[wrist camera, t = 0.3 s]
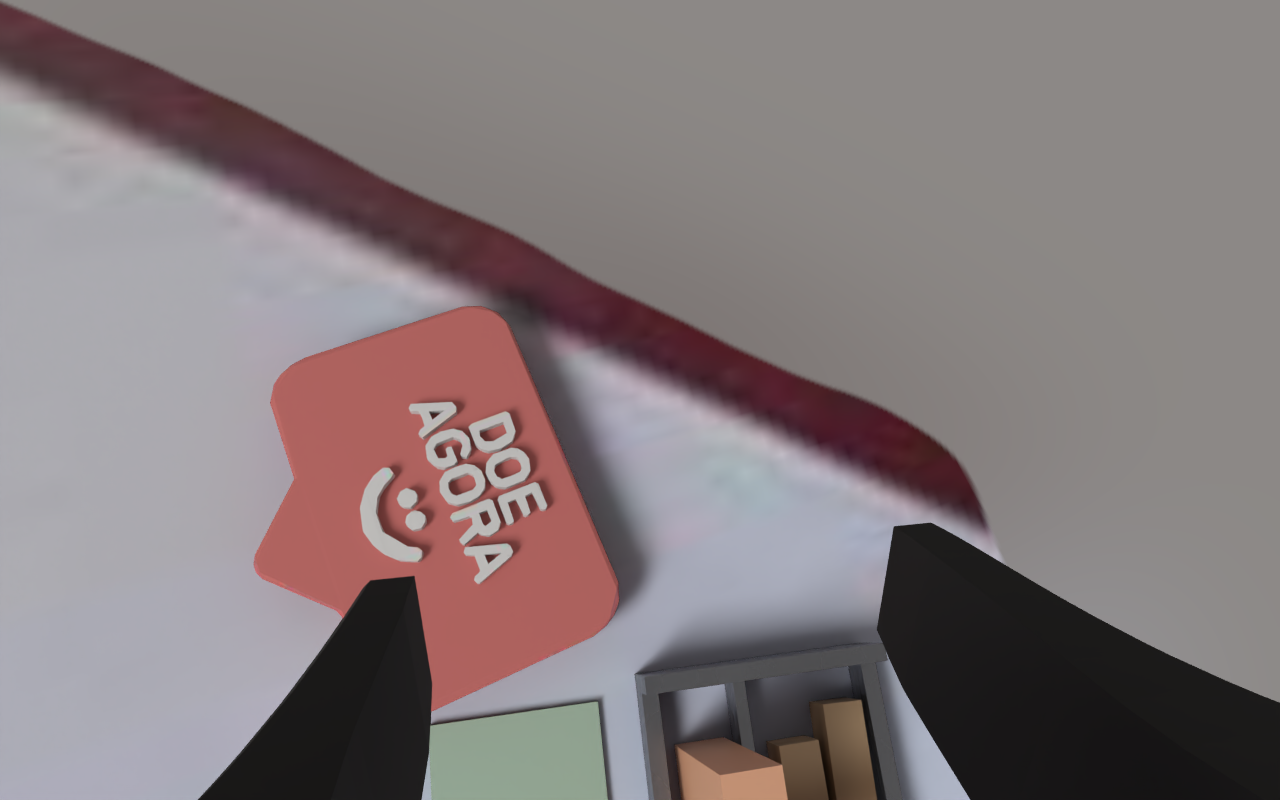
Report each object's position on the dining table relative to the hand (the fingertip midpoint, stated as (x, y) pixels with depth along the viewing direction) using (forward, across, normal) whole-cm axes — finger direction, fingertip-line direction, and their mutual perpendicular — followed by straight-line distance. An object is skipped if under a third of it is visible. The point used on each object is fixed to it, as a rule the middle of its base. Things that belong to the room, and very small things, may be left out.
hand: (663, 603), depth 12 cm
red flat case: (+26, +8, +15) cm, 31 cm away
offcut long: (+15, -12, +27) cm, 33 cm away
